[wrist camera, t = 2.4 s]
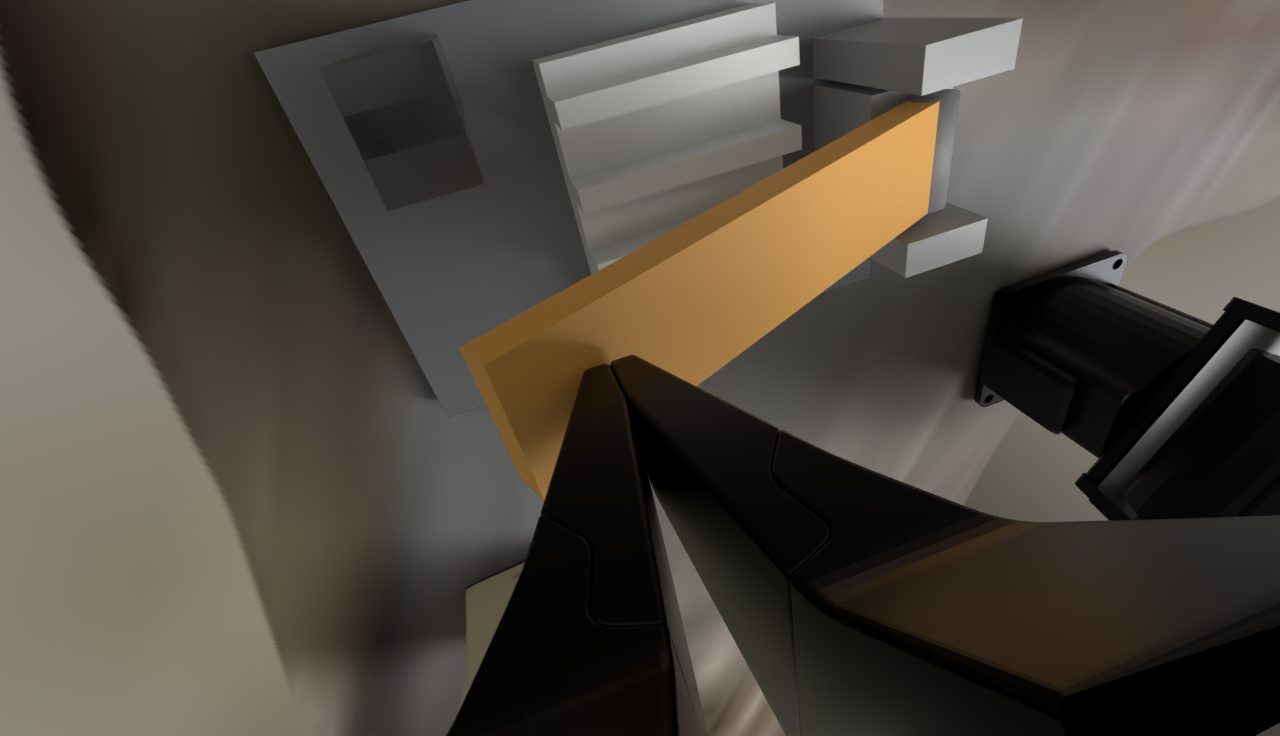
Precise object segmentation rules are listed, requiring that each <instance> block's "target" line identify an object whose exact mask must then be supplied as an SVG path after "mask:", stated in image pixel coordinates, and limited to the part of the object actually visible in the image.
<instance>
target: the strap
mask: <svg viewBox="0 0 1280 736" xmlns="http://www.w3.org/2000/svg"><path fill="white" fill-rule="evenodd" d="M959 98H960V91H958V90H955V89H943V90H940V91H936V92H933V93H930V94H926V95H923V96H919V95H913V94H911V95H909V96H907V97H906V98H905V102H904V103H902V104H900V105H898V106H896V107H895V108H893V109H891V110H889V111H887V112H886V113H884V114H882V115H880V116H878V117H877V118H875V119H873V120H871V121H869V122H867V123H866V124H864V125H862V126H860V127H858V128H857V129H855V130H853V131H851V132H849V133H847V134H846V135H844V136H842V137H840V138H838V139H837V140H835V141H833V142H831V143H829V144H827V145H826V146H824V147H822V148H820V149H818V150H817V151H815V152H813V153H811V154H809V155H808V156H806V157H804V158H802V159H800V160H798V161H797V162H795V163H793V164H791V165H789V166H788V167H786V168H784V169H782V170H780V171H778V172H777V173H775V174H773V175H771V176H769V177H768V178H766V179H764V180H762V181H760V182H759V183H757V184H755V185H753V186H751V187H749V188H748V189H746V190H744V191H742V192H740V193H739V194H737V195H735V196H733V197H731V198H729V199H728V200H726V201H724V202H722V203H720V204H719V205H717V206H715V207H713V208H711V209H709V210H708V211H706V212H704V213H702V214H700V215H699V216H697V217H695V218H693V219H691V220H690V221H688V222H686V223H684V224H682V225H680V226H679V227H677V228H675V229H673V230H671V231H670V232H668V233H666V234H664V235H662V236H660V237H659V238H657V239H655V240H653V241H651V242H650V243H648V244H646V245H644V246H642V247H640V248H639V249H637V250H635V251H633V252H631V253H630V254H628V255H626V256H624V257H622V258H621V259H619V260H617V261H615V262H613V263H611V264H610V265H608V266H606V267H604V268H602V269H601V270H599V271H597V272H595V273H593V274H591V275H590V276H588V277H586V278H584V279H582V280H581V281H579V282H577V283H575V284H573V285H571V286H570V287H568V288H566V289H564V290H562V291H561V292H559V293H557V294H555V295H553V296H552V297H550V298H548V299H546V300H544V301H542V302H541V303H539V304H537V305H535V306H533V307H532V308H530V309H528V310H526V311H524V312H522V313H521V314H519V315H517V316H515V317H513V318H512V319H510V320H508V321H506V322H504V323H503V324H501V325H499V326H497V327H495V328H493V329H492V330H490V331H488V332H486V333H484V334H483V335H481V336H479V337H477V338H475V339H473V340H472V341H470V342H468V343H466V344H464V345H463V346H461V347H459V348H460V350H461V352H462V355H463V357H464V359H465V361H466V363H467V365H468V367H469V369H470V372H471V374H472V376H473V378H474V380H475V382H476V384H477V386H478V389H479V391H480V393H481V395H482V397H483V399H484V401H485V403H486V406H487V408H488V410H489V412H490V414H491V416H492V418H493V421H494V423H495V425H496V427H497V429H498V431H499V433H500V435H501V438H502V440H503V442H504V444H505V446H506V448H507V450H508V452H509V455H510V457H511V459H512V461H513V463H514V465H515V467H516V469H517V472H518V474H519V476H520V478H521V479H522V480H523V481H524V482H525V483H526V484H528V485H529V486H530V487H531V488H532V489H533V490H534V491H535V492H536V493H537V494H538V495H539V496H540V497H541V498H542V499H543V500H545V497H546V494H547V491H548V488H549V484H550V481H551V478H552V474H553V471H554V468H555V465H556V461H557V458H558V455H559V451H560V448H561V445H562V442H563V438H564V435H565V432H566V428H567V425H568V422H569V419H570V415H571V412H572V409H573V405H574V402H575V399H576V396H577V392H578V389H579V386H580V382H581V379H582V376H583V373H584V371H585V370H586V369H589V368H592V367H595V366H598V365H601V364H609V365H610V363H611V362H612V361H614V360H616V359H619V358H622V357H625V356H628V355H636V356H638V357H640V358H642V359H644V360H646V361H648V362H650V363H652V364H654V365H656V366H657V367H659V368H661V369H663V370H665V371H667V372H669V373H671V374H673V375H675V376H677V377H679V378H681V379H683V380H685V381H687V382H689V383H691V384H693V385H695V386H698V385H699V384H701V383H702V382H703V381H705V380H706V379H707V378H709V377H710V376H711V375H713V374H714V373H715V372H717V371H718V370H719V369H721V368H722V367H723V366H725V365H726V364H727V363H729V362H730V361H731V360H733V359H734V358H735V357H737V356H738V355H739V354H741V353H742V352H743V351H745V350H746V349H747V348H749V347H750V346H751V345H753V344H754V343H755V342H757V341H758V340H759V339H761V338H762V337H763V336H765V335H766V334H767V333H769V332H770V331H771V330H773V329H774V328H775V327H777V326H778V325H779V324H781V323H782V322H783V321H785V320H786V319H787V318H789V317H790V316H791V315H793V314H794V313H795V312H797V311H798V310H799V309H801V308H802V307H803V306H805V305H806V304H807V303H809V302H810V301H811V300H813V299H814V298H815V297H817V296H818V295H819V294H821V293H822V292H823V291H825V290H826V289H827V288H829V287H830V286H831V285H833V284H834V283H835V282H837V281H838V280H839V279H841V278H842V277H843V276H845V275H846V274H847V273H849V272H850V271H851V270H853V269H854V268H855V267H857V266H858V265H859V264H861V263H862V262H863V261H865V260H866V259H867V258H869V257H870V256H871V255H873V254H874V253H875V252H877V251H878V250H879V249H881V248H882V247H883V246H885V245H886V244H887V243H889V242H890V241H891V240H893V239H894V238H895V237H897V236H898V235H899V234H901V233H902V232H903V231H905V230H906V229H907V228H909V227H910V226H911V225H913V224H914V223H915V222H917V221H918V220H919V219H921V218H922V217H923V216H925V215H926V214H927V213H932V212H936V211H939V210H941V209H943V208H944V207H945V206H946V200H947V192H948V185H949V177H950V169H951V161H952V153H953V145H954V137H955V129H956V122H957V114H958V106H959Z"/></svg>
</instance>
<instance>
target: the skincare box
mask: <svg viewBox="0 0 1280 736" xmlns="http://www.w3.org/2000/svg"><path fill="white" fill-rule="evenodd" d="M523 565H524V563H522V564H520V565H517V566H515V567H513V568H511V569H508V570H506V571H504V572H502V573H499V574H497V575H495V576H493V577H490V578H488V579H486V580H484V581H482V582H479V583H477V584H475V585H473V586H472V587H470V588H468V589H467V590H466V664H467V693H468V691H469V688H470V686H471V684H472V682H473V680H474V677H475V675H476V673H477V671H478V669H479V666H480V664H481V662H482V660H483V657H484V655H485V653H486V651H487V649H488V646H489V644H490V642H491V640H492V638H493V635H494V633H495V631H496V629H497V627H498V624H499V622H500V620H501V618H502V616H503V613H504V611H505V609H506V607H507V604H508V602H509V600H510V597H511V595H512V592H513V590H514V588H515V585H516V583H517V581H518V578H519V576H520V574H521V571H522V568H523Z"/></svg>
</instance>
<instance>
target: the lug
mask: <svg viewBox="0 0 1280 736" xmlns="http://www.w3.org/2000/svg"><path fill="white" fill-rule="evenodd" d="M320 71H321V73H322V75H323V77H324V79H325V81H326V83H327V85H328V87H329V89H330V92H331V94H332V96H333V98H334V100H335V102H336V104H337V106H338V108H339V110H340V112H341V115H342V117H343V119H344V121H345V123H346V125H347V127H348V129H349V131H350V133H351V135H352V138H353V140H354V142H355V144H356V146H357V148H358V150H359V152H360V154H361V156H362V158H363V161H364V163H365V165H366V167H367V169H368V171H369V173H370V175H371V177H372V179H373V181H374V184H375V186H376V188H377V190H378V192H379V194H380V196H381V198H382V200H383V202H384V204H385V207H386V209H387V211H390V210H394V209H397V208H401V207H405V206H408V205H412V204H415V203H419V202H422V201H426V200H429V199H433V198H436V197H440V196H443V195H447V194H450V193H454V192H457V191H461V190H464V189H468V188H471V187H475V186H479V185H482V184H484V179H483V175H482V172H481V169H480V166H479V164H478V161H477V158H476V155H475V153H474V150H473V147H472V144H471V142H470V139H469V136H468V133H467V130H466V128H465V117H464V107H463V104H462V101H461V98H460V95H459V92H458V90H457V87H456V84H455V81H454V78H453V75H452V73H451V70H450V67H449V64H448V61H447V59H446V56H445V53H444V50H443V47H442V45H441V42H440V39H439V36H438V35H434V36H430V37H426V38H422V39H418V40H414V41H410V42H406V43H402V44H398V45H394V46H390V47H386V48H382V49H378V50H374V51H370V52H366V53H362V54H358V55H354V56H351V57H348V58H346V59H343V60H341V61H338V62H336V63H333V64H330V65H328V66H325V67H323V68H320Z"/></svg>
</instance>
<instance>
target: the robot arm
mask: <svg viewBox="0 0 1280 736" xmlns="http://www.w3.org/2000/svg"><path fill="white" fill-rule="evenodd" d="M1127 258H1128V257H1127V255H1126V254H1124V253H1122V252H1119V251H1116V250H1114V251H1110V252H1107V253H1104V254H1101V255H1098V256H1095V257H1093V258H1090V259H1087V260H1084V261H1081V262H1078V263H1075V264H1072V265H1069V266H1066V267H1064V268H1061V269H1058V270H1055V271H1052V272H1049V273H1046V274H1043V275H1040V276H1037V277H1035V278H1032V279H1029V280H1026V281H1023V282H1020V283H1017V284H1014V285H1011V286H1008V287H1006V288H1003V289H1002V290H1000V291H999V292H998V293H997V294H996V296H995V297H994V300H993V304H992V309H991V314H990V319H989V324H988V329H987V334H986V339H985V344H984V349H983V354H982V359H981V364H980V369H979V374H978V379H977V384H976V389H975V394H974V401H975V402H976V403H978V404H979V405H980V406H982V407H987V406H990V405H992V404H995V403H998V402H1001V401H1003V400H1006V401H1007V402H1009V403H1010V404H1011V405H1013V406H1014V407H1016V408H1017V409H1019V410H1020V411H1021V412H1023V413H1024V414H1026V415H1027V416H1029V417H1030V418H1032V419H1033V420H1034V421H1036V422H1037V423H1039V424H1040V425H1042V426H1043V427H1045V428H1046V429H1047V430H1049V431H1050V432H1052V433H1054V434H1060V433H1063V434H1064V435H1066V436H1067V437H1069V438H1070V439H1072V440H1073V441H1074V442H1076V443H1077V444H1079V445H1080V446H1082V447H1083V448H1085V449H1086V450H1088V451H1089V452H1091V453H1092V454H1093V455H1095V456H1096V457H1098V458H1099V459H1098V460H1097V461H1096V463H1095V464H1094V465H1093V466H1092V467H1091V468H1090V470H1089V471H1088V472H1087V473H1083V474H1082V475H1081V476H1080V477H1079V478H1078V480H1077V481H1076V482H1075V485H1076V486H1077V487H1078V488H1079V489H1080V490H1081V491H1082V492H1083V493H1084V494H1085V495H1086V496H1087V497H1089V501H1090V502H1091V503H1092V504H1093V505H1094V506H1095V507H1096V508H1097V509H1098V510H1099V511H1100V512H1101V513H1102V514H1103V515H1104V516H1105V517H1106V518H1107V519H1108V520H1109V521H1079V522H1028V521H1018V520H1012V519H1006V518H1001V517H998V516H993V515H990V514H986V513H983V512H979V511H977V510H974V509H971V508H968V507H965V506H963V505H960V504H958V503H955V502H952V501H950V500H947V499H945V498H942V497H939V496H937V495H934V494H932V493H929V492H926V491H924V490H921V489H919V488H916V487H913V486H911V485H908V484H906V483H903V482H900V481H898V480H895V479H893V478H890V477H887V476H885V475H882V474H880V473H877V472H874V471H872V470H869V469H867V468H865V467H862V466H860V465H857V464H855V463H852V462H850V461H848V460H845V459H843V458H840V457H838V456H835V455H833V454H831V453H829V452H827V451H825V450H822V449H820V448H818V447H816V446H814V445H812V444H810V443H808V442H806V441H803V440H801V439H799V438H797V437H796V436H794V435H792V434H790V433H788V432H786V431H784V430H781V431H779V429H778V428H777V427H775V426H773V425H771V424H770V423H768V422H766V421H764V420H762V419H760V418H758V417H756V416H754V415H752V414H750V413H748V412H746V411H744V410H742V409H740V408H738V407H736V406H734V405H732V404H730V403H728V402H726V401H724V400H722V399H720V398H718V397H716V396H714V395H713V394H711V393H709V392H707V391H705V390H703V389H701V388H699V387H697V386H695V385H693V384H691V383H689V382H687V381H685V380H683V379H681V378H679V377H677V376H675V375H673V374H671V373H669V372H667V371H665V370H663V369H661V368H659V367H657V366H656V365H654V364H652V363H650V362H648V361H646V360H644V359H642V358H640V357H638V356H636V355H628V356H625V357H622V358H619V359H616V360H614V361H612V362H611V363H610V365H609V364H601V365H598V366H595V367H592V368H589V369H586V370H585V371H584V373H583V376H582V379H581V382H580V386H579V389H578V392H577V396H576V399H575V402H574V405H573V409H572V412H571V415H570V419H569V422H568V425H567V428H566V432H565V435H564V438H563V442H562V445H561V448H560V451H559V455H558V458H557V461H556V465H555V468H554V471H553V474H552V478H551V481H550V484H549V488H548V491H547V494H546V497H545V501H544V504H543V507H542V511H541V516H540V517H539V519H538V523H537V526H536V529H535V533H534V536H533V539H532V542H531V545H530V548H529V551H528V554H527V557H526V560H525V562H524V565H523V568H522V571H521V574H520V576H519V578H518V581H517V583H516V585H515V588H514V590H513V592H512V595H511V597H510V600H509V602H508V604H507V607H506V609H505V611H504V613H503V616H502V618H501V620H500V622H499V624H498V627H497V629H496V631H495V633H494V635H493V638H492V640H491V642H490V644H489V646H488V649H487V651H486V653H485V655H484V657H483V660H482V662H481V664H480V666H479V669H478V671H477V673H476V675H475V677H474V680H473V682H472V684H471V686H470V688H469V691H468V693H467V695H466V697H465V699H464V702H463V704H462V706H461V708H460V710H459V712H458V714H457V716H456V718H455V720H454V722H453V724H452V726H451V727H450V729H449V731H448V733H447V734H446V736H708V732H707V728H706V724H705V719H704V715H703V711H702V706H701V702H700V697H699V693H698V689H697V684H696V680H695V676H694V671H693V667H692V662H691V658H690V654H689V649H688V645H687V641H686V636H685V632H684V627H683V623H682V619H681V614H680V610H679V606H678V601H677V597H676V592H675V588H674V584H673V579H672V575H671V571H670V566H669V562H668V557H667V553H666V549H665V544H664V540H663V536H662V531H661V527H660V522H659V518H658V514H657V509H656V505H655V501H654V497H653V493H652V489H651V486H652V488H653V490H654V492H655V494H656V496H657V498H658V500H659V502H660V504H661V505H662V507H663V509H664V511H665V513H666V515H667V517H668V518H669V520H670V522H671V524H672V526H673V528H674V530H675V531H676V533H677V535H678V537H679V539H680V541H681V542H682V544H683V546H684V548H685V550H686V552H687V554H688V555H689V557H690V559H691V561H692V563H693V565H694V566H695V568H696V570H697V572H698V574H699V576H700V578H701V579H702V581H703V583H704V585H705V587H706V589H707V590H708V592H709V594H710V596H711V598H712V600H713V602H714V603H715V605H716V607H717V609H718V611H719V613H720V614H721V616H722V618H723V620H724V622H725V624H726V626H727V627H728V629H729V631H730V633H731V635H732V637H733V638H734V640H735V642H736V644H737V646H738V648H739V650H740V651H741V653H742V655H743V657H744V659H745V661H746V663H747V664H748V666H749V668H750V670H751V672H752V674H753V675H754V677H755V679H756V681H757V683H758V685H759V687H760V688H761V690H762V692H763V694H764V696H765V698H766V699H767V701H768V703H769V705H770V707H771V709H772V711H773V712H774V714H775V716H776V718H777V720H778V722H779V723H780V725H781V727H782V729H783V731H784V733H785V735H786V736H1280V312H1277V311H1274V310H1271V309H1268V308H1266V307H1263V306H1260V305H1257V304H1254V303H1251V302H1248V301H1245V300H1242V299H1239V298H1236V297H1233V298H1232V299H1231V301H1230V302H1229V303H1228V304H1227V305H1226V306H1225V308H1224V309H1223V310H1224V311H1225V312H1224V314H1223V315H1222V316H1221V317H1220V318H1219V319H1218V321H1217V322H1216V323H1215V324H1214V325H1213V324H1210V323H1208V322H1205V321H1203V320H1200V319H1198V318H1196V317H1193V316H1191V315H1188V314H1186V313H1183V312H1181V311H1179V310H1176V309H1174V308H1171V307H1169V306H1166V305H1164V304H1161V303H1159V302H1156V301H1154V300H1151V299H1149V298H1147V297H1144V296H1141V295H1139V294H1137V293H1134V292H1132V291H1129V290H1127V289H1124V288H1122V287H1119V282H1120V280H1121V277H1122V274H1123V271H1124V268H1125V265H1126V262H1127ZM649 481H650V482H649ZM650 483H651V486H650Z"/></svg>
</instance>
